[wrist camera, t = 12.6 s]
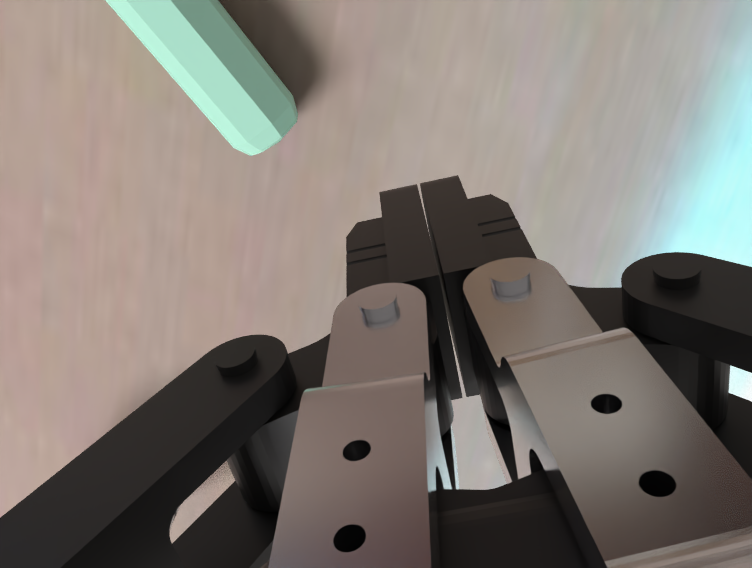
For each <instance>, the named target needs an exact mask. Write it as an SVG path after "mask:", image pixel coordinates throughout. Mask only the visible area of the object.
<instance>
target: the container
mask: <svg viewBox="0 0 752 568" xmlns="http://www.w3.org/2000/svg"><path fill="white" fill-rule="evenodd" d="M106 2H107V3H108V4H109V5H110V6H111V7H112V8H113V10H114V11H115V12H116V13H117V14H118V15H119V16H120V18H121V19H122V20H123V21H124V22H125V23H126V25H127V26H128V27H129V28H130V29H131V30H132V31H133V33H134V34H135V35H136V36H137V37H138V38H139V39H140V41H141V42H142V43H143V44H144V45H145V46H146V48H147V49H148V50H149V51H150V52H151V53H152V54H153V56H154V57H155V58H156V59H157V60H158V61H159V63H160V64H161V65H162V66H163V67H164V68H165V69H166V71H167V72H168V73H169V74H170V75H171V76H172V77H173V79H174V80H175V81H176V82H177V83H178V84H179V86H180V87H181V88H182V89H183V90H184V91H185V92H186V94H187V95H188V96H189V97H190V98H191V99H192V100H193V102H194V103H195V104H196V105H197V106H198V107H199V109H200V110H201V111H202V112H203V113H204V114H205V115H206V117H207V118H208V119H209V120H210V121H211V122H212V124H213V125H214V126H215V127H216V128H217V129H218V130H219V132H220V133H221V134H222V135H223V136H224V137H225V138H226V140H227V141H228V142H229V143H230V144H231V145H232V147H233V148H235V149H237V150H239V151H242V152H244V153H246V154H248V155H250V156H252V155H255V154H258V153H261V152H263V151H265V150H267V149H268V148H270V147H271V146H273V145H275V144H276V143H278V142H280V141H281V139H282V138H283V137H284V136H285V135H286V134H287V132H288V131H289V130H290V129H291V128H292V127H293V125H294V124H295V123H296V122H297V117H298V113H297V109H296V106H295V102H294V98H293V95H292V94H291V93H290V91H289V90H288V89H287V88H286V86H285V85H284V84H283V83H282V81H281V80H280V79H279V77H278V76H277V75H276V74H275V72H274V71H273V70H272V68H271V67H270V66H269V65H268V63H267V62H266V61H265V60H264V58H263V57H262V56H261V54H260V53H259V52H258V51H257V49H256V48H255V47H254V46H253V44H252V43H251V42H250V40H249V39H248V38H247V37H246V35H245V34H244V33H243V32H242V30H241V29H240V28H239V26H238V25H237V24H236V23H235V21H234V20H233V19H232V17H231V16H230V15H229V14H228V12H227V11H226V10H225V9H224V7H223V6H222V5H221V3H220V2H219V1H218V0H106Z"/></svg>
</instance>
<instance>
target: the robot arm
mask: <svg viewBox="0 0 752 568" xmlns="http://www.w3.org/2000/svg"><path fill="white" fill-rule="evenodd" d="M420 186H421V192H422V198H423V203H424V208H425V213H426V218H427V224H428V228H427V224H426V220H425V215H424V211H423V207H422V203H421V199H420V195H419V191H418V187H417V184H416V185H411V186H406V187H402V188H397V189H392V190H387V191H383V192H380V202H381V210H382V217H381V218H376V219H372V220H367V221H362V222H358V223H357V224H356V225H355V226H354V228H353V229H352V230H351V232H350V233H349V234H348V236H347V237H346V251H347V254H346V260H347V297H346V298H345V299H344V300H343V301H342V302H341V303H340V304H339V305H338V306H337V308H336V310H335V312H334V315H333V321H332V328H331V333H330V334H329V335H327V336H326V337H324V338H322V339H321V340H319V341H317V342H315V343H313V344H311V345H309V346H306V347H304V348H301V349H299V350H296V351H294V352H291V353H289V354H288V353H287V350H286V347H285V345H284V344H283V342H282V341H280V340H279V339H277V338H275V337H272V336H268V335H249V336H243V337H239V338H236V339H233V340H230V341H227V342H225V343H223V344H221V345H219V346H217V347H216V348H214V349H212V350H211V351H209V352H208V353H207V354H205V355H204V356H203V357H202V358H200V359H199V360H198V361H197V362H195V363H194V364H193V365H192V366H190V367H189V368H188V369H187V370H185V371H184V372H183V373H182V374H180V375H179V376H178V377H177V378H175V379H174V380H173V381H171V382H170V383H169V384H168V385H166V386H165V387H164V388H163V389H161V390H160V391H159V392H158V393H156V394H155V395H154V396H153V397H151V398H150V399H149V400H148V401H146V402H145V403H144V404H143V405H141V406H140V407H139V408H138V409H136V410H135V411H134V412H133V413H131V414H130V415H129V416H128V417H126V418H125V419H124V420H123V421H121V422H120V423H119V424H117V425H116V426H115V427H114V428H112V429H111V430H110V431H109V432H107V433H106V434H105V435H104V436H102V437H101V438H100V439H99V440H97V441H96V442H95V443H94V444H92V445H91V446H90V447H89V448H87V449H86V450H85V451H84V452H82V453H81V454H80V455H79V456H77V457H76V458H75V459H74V460H72V461H71V462H70V463H69V464H67V465H66V466H65V467H64V468H62V469H61V470H60V471H58V472H57V473H56V474H55V475H53V476H52V477H51V478H50V479H48V480H47V481H46V482H45V483H43V484H42V485H41V486H40V487H38V488H37V489H36V490H35V491H33V492H32V493H31V494H30V495H28V496H27V497H26V498H25V499H23V500H22V501H21V502H20V503H18V504H17V505H16V506H15V507H13V508H12V509H11V510H10V511H8V512H7V513H6V514H4V515H3V516H2V517H1V518H0V568H752V402H751V401H749V400H746V399H743V398H741V397H738V396H736V395H733V394H730V393H728V390H729V375H730V365H731V366H734V367H737V368H740V369H743V370H745V371H748V372H751V373H752V267H749V266H745V265H741V264H737V263H733V262H729V261H725V260H720V259H716V258H712V257H708V256H704V255H699V254H693V253H680V252H674V253H662V254H656V255H652V256H648V257H645V258H642V259H640V260H638V261H636V262H634V263H633V264H631V265H630V266H629V267H627V268H626V269H625V271H624V273H623V274H622V278H621V283H622V288H585V287H577V286H572V285H568V284H567V283H566V281H565V280H564V279H563V277H562V276H561V275H560V273H559V272H558V271H557V269H556V268H555V267H554V266H552V265H551V264H549V263H547V262H545V261H542V260H538V259H537V258H536V256H535V254H534V252H533V250H532V248H531V246H530V244H529V242H528V241H527V239H526V237H525V235H524V233H523V231H522V229H521V228H520V225H519V223H518V221H517V220H516V219H515V216H514V214H513V212H512V210H511V208H510V206H509V204H508V203H507V202H505V201H503V200H501V199H499V198H497V197H495V196H493V195H491V194H490V195H485V196H480V197H475V198H471V199H467V197H466V194H465V192H464V189H463V187H462V184H461V182H460V179H459V177H458V175H457V176H452V177H448V178H443V179H438V180H434V181H429V182H424V183H420ZM428 229H429V232H428ZM429 234H430V236H429ZM430 239H431V240H430ZM446 313H447V314H446ZM447 318H448V319H447ZM448 322H449V324H448ZM449 326H450V330H451V334H452V338H453V343H454V347H455V351H456V355H457V359H458V363H459V368H460V372H461V376H462V380H463V384H464V388H465V392H466V397H469V396H474V395H479V394H480V396H481V399H482V403H483V408H484V414H485V420H486V426H487V431H488V434H489V437H490V440H491V442H492V445H493V447H494V450H495V453H496V455H497V458H498V461H499V463H500V466H501V468H502V471H503V474H504V476H505V479H506V482H507V484H506V485H503V486H501V487H498V488H495V489H489V490H463V489H459V482H458V471H457V460H456V449H455V439H454V434H453V429H452V425H451V424H452V421H453V416H454V415H453V408H452V403H451V400H454V399H459V398H462V393H461V387H460V382H459V377H458V372H457V366H456V361H455V356H454V351H453V345H452V340H451V335H450V330H449ZM226 460H227V462H228V465H229V467H230V469H231V471H232V474H233V476H234V478H235V480H236V481H235V482H234V483H233V484H232V485H231V486H230V487H229V488H228V489H227V490H226V491H225V492H224V493H223V494H222V495H221V496H220V497H219V498H218V499H217V500H216V501H215V502H214V503H213V504H212V505H211V506H210V507H209V508H208V509H207V510H206V511H205V512H204V513H203V514H202V515H201V516H200V517H199V518H198V519H197V520H196V521H195V522H194V523H193V524H192V525H191V526H190V527H189V528H188V529H187V530H186V531H185V532H184V533H183V534H182V535H181V536H180V537H179V538H177V539H176V540H175V541H174V542H173V543H171V541H170V536H169V530H170V524H171V521H172V518H173V516H174V514H175V512H176V510H177V509H178V507H179V506H180V505H181V504H182V503H183V501H184V500H185V499H187V498H188V497H189V496H190V495H191V494H192V493H193V492H194V491H195V490H196V489H197V488H198V487H199V486H200V485H201V484H202V483H203V482H204V481H205V480H206V479H207V478H208V477H209V476H211V475H212V474H213V473H214V472H215V471H216V470H217V469H218V468H219V467H220V466H221V465H222V464H223V463H224V462H225V461H226Z"/></svg>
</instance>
